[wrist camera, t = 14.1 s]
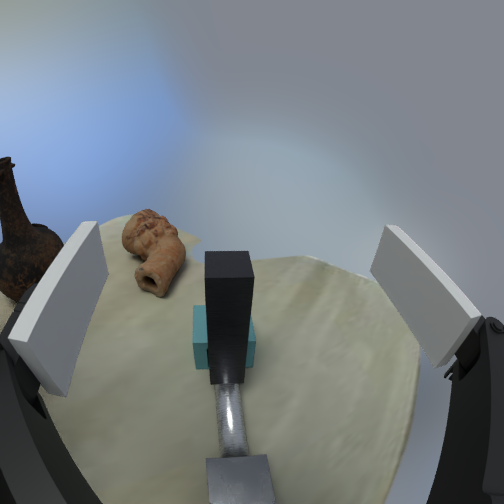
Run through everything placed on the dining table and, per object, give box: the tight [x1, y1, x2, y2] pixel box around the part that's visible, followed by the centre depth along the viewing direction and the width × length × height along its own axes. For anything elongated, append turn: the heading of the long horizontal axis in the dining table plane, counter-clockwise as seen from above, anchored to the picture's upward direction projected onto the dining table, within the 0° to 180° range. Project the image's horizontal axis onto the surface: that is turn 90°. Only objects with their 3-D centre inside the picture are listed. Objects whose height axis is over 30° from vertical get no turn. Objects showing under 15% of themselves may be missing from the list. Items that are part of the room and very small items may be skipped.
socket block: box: [193, 305, 256, 369], centre depth 38 cm, size 7×8×6 cm
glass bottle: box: [0, 157, 64, 302], centre depth 38 cm, size 18×18×28 cm
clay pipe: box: [122, 209, 186, 297], centre depth 54 cm, size 19×11×15 cm
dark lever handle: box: [205, 251, 254, 458], centre depth 26 cm, size 19×4×19 cm, turn 8°
